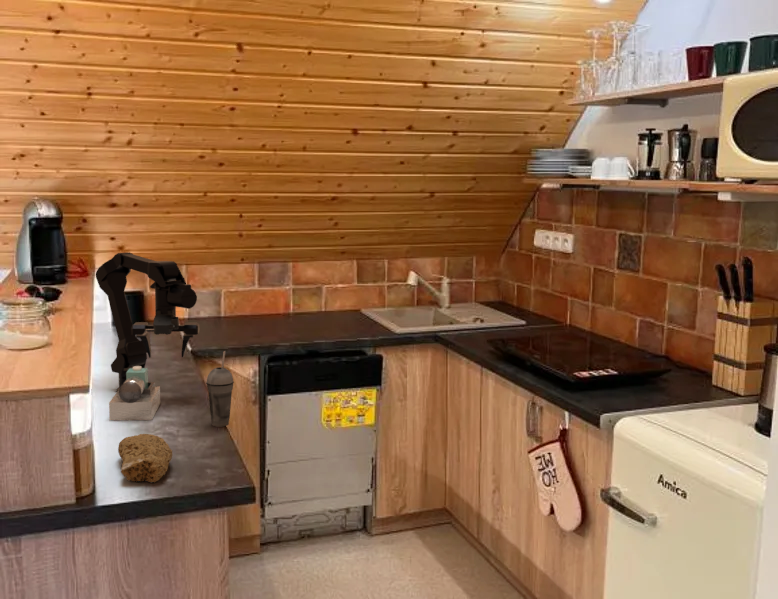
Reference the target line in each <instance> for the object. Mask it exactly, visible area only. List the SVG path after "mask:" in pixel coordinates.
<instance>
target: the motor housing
mask: <svg viewBox="0 0 778 599" xmlns="http://www.w3.org/2000/svg"><path fill="white" fill-rule="evenodd" d="M144 388H145V383H144V381H143V380H142V379H141V378H140V377H137V376H132V377H129V378H128V379H127V380H126V381H125V383H124V384H123V385H122V386H121V387H120V389H119V390H118V391H117V392H116V393H114V395H113V397H112V398H111V399H110V401H108V408H109V409H108V410H109V411H108V413H109V421H110V420H114V421H153V419H154V416H155V415H156V413H157V410H158V409H159V407H160V405H161V386H156V382H155V381H148V389H144Z"/></svg>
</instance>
